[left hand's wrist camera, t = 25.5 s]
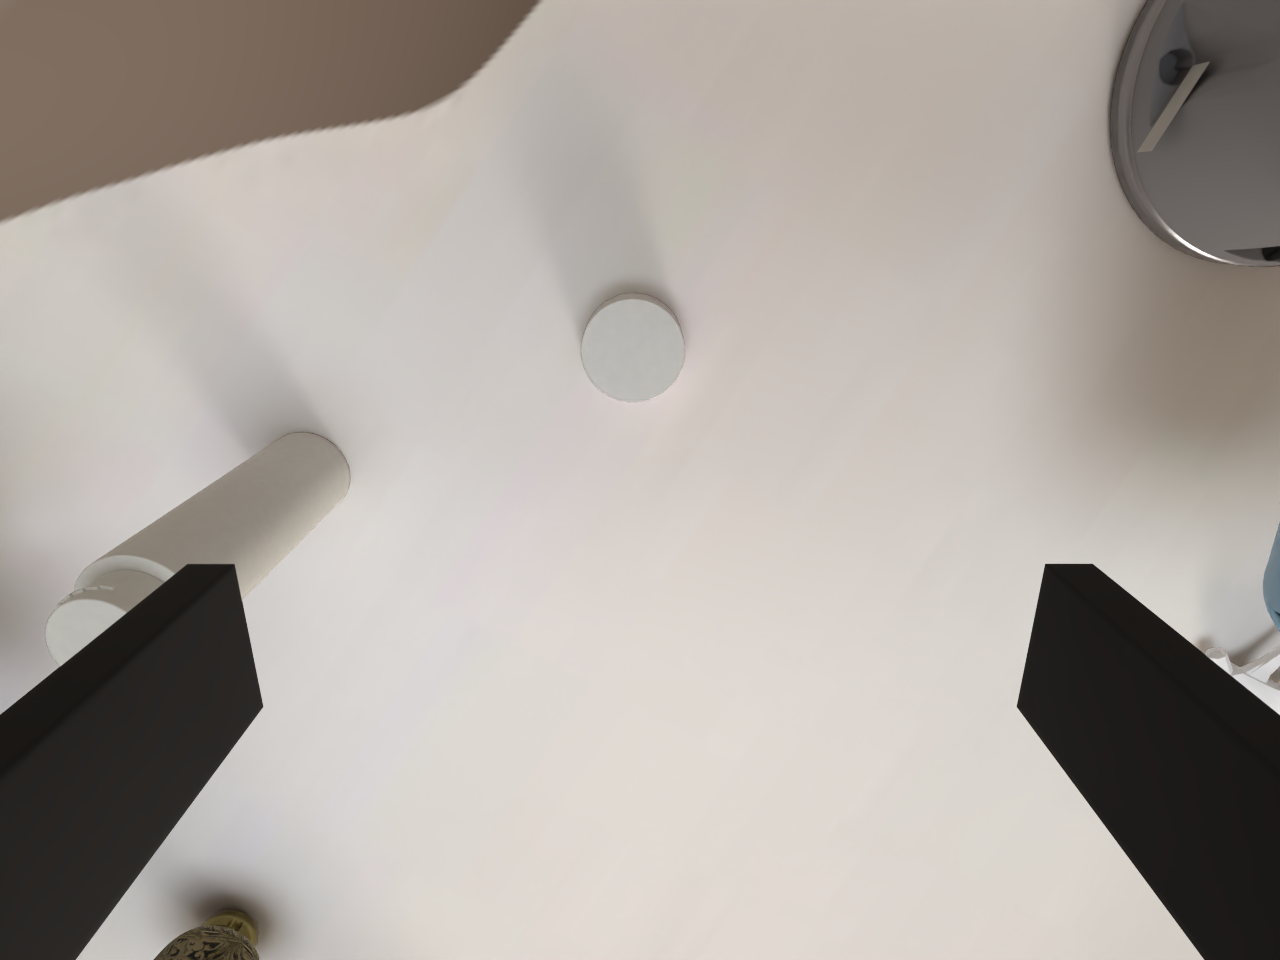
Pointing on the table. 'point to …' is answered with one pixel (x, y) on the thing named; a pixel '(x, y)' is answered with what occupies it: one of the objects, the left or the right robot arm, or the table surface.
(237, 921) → the cup
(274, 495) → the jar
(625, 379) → the lid
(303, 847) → the table surface
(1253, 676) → the spray bottle
